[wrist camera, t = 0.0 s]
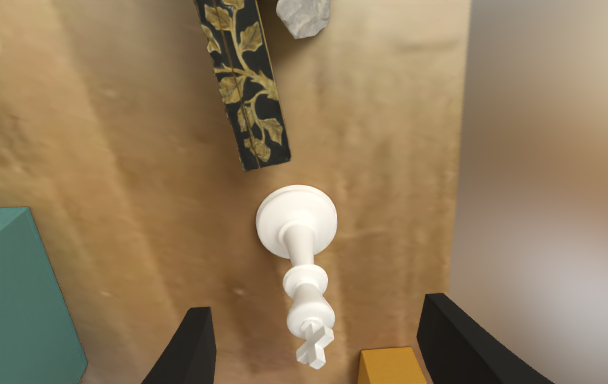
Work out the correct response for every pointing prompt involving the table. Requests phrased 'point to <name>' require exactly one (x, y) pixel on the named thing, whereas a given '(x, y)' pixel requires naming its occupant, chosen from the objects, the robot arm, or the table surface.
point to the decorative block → (246, 80)
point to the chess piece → (302, 261)
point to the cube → (389, 367)
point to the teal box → (33, 310)
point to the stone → (303, 16)
